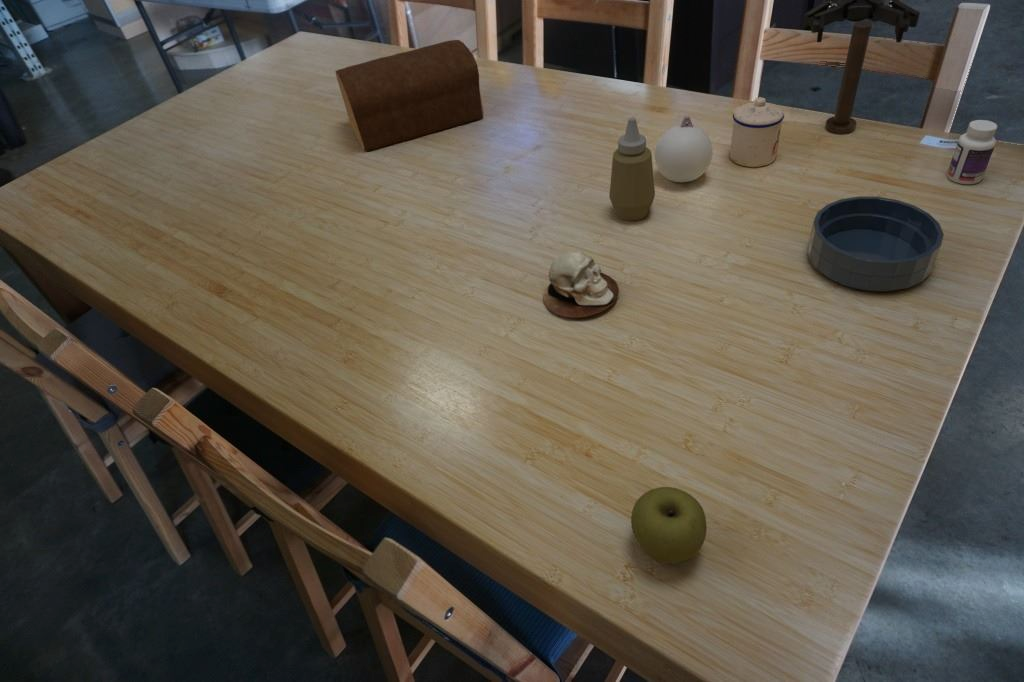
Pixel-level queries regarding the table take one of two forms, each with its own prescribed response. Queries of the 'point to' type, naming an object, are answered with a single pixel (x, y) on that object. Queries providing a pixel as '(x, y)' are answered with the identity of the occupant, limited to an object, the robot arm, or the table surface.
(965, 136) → the pill bottle
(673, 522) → the apple
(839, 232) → the bowl
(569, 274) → the skull
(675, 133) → the ornament
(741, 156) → the teacup with lid
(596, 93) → the table surface
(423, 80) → the bread
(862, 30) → the stirrer
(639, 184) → the squeeze bottle
